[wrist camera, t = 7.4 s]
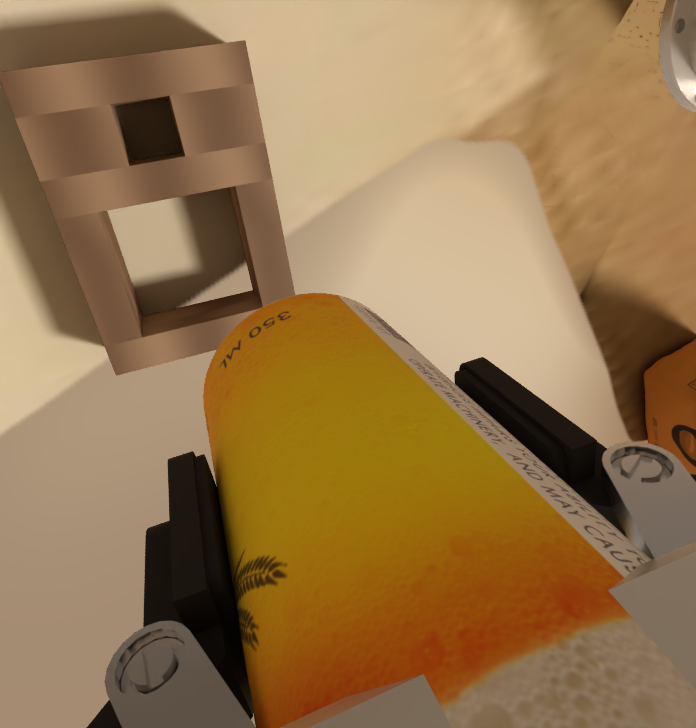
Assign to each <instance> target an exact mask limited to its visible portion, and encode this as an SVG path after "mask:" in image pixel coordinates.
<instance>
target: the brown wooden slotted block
mask: <svg viewBox="0 0 696 728" xmlns="http://www.w3.org/2000/svg"><path fill="white" fill-rule="evenodd" d="M0 82H1V84H2V87H3V90H4V92H5V95H6V97H7V100H8V102H9V105H10V107H11V110H12V112H13V115H14V117H15V120H16V123H17V125H18V128H19V130H20V133H21V135H22V138H23V140H24V143H25V145H26V148H27V151H28V153H29V156H30V158H31V161H32V163H33V166H34V168H35V171H36V173H37V176H38V178H39V181H40V184H41V186H42V189H43V191H44V194H45V196H46V199H47V201H48V204H49V206H50V209H51V211H52V214H53V217H54V219H55V222H56V224H57V227H58V229H59V232H60V234H61V237H62V239H63V242H64V244H65V247H66V250H67V252H68V255H69V257H70V260H71V262H72V265H73V267H74V270H75V272H76V275H77V277H78V280H79V283H80V285H81V288H82V290H83V293H84V295H85V298H86V300H87V303H88V305H89V308H90V311H91V313H92V316H93V318H94V321H95V323H96V326H97V328H98V331H99V333H100V336H101V338H102V341H103V344H104V346H105V349H106V351H107V354H108V356H109V359H110V361H111V364H112V366H113V369H114V371H115V374H116V375H120V374H124V373H128V372H132V371H136V370H139V369H143V368H147V367H151V366H155V365H159V364H163V363H167V362H170V361H174V360H178V359H182V358H186V357H190V356H193V355H197V354H201V353H205V352H209V351H213V350H217V349H218V348H219V346H220V344H221V343H222V341H223V340H224V339H225V338H226V336H227V335H228V334H229V333H230V332H231V330H232V329H234V328H235V327H236V326H237V325H238V324H239V323H240V322H241V321H242V320H243V319H245V318H246V317H247V316H249V315H250V314H251V313H253V312H255V311H256V310H258V309H260V308H261V307H263V306H265V305H268V304H270V303H272V302H274V301H277V300H280V299H283V298H286V297H290V296H295V292H294V287H293V282H292V277H291V272H290V267H289V262H288V256H287V252H286V246H285V241H284V236H283V231H282V226H281V221H280V215H279V210H278V205H277V200H276V195H275V190H274V185H273V180H272V175H271V169H270V164H269V159H268V154H267V149H266V144H265V139H264V134H263V129H262V123H261V118H260V113H259V108H258V103H257V98H256V93H255V88H254V83H253V78H252V72H251V67H250V62H249V57H248V52H247V47H246V42H245V41H237V42H229V43H221V44H214V45H206V46H198V47H190V48H182V49H175V50H167V51H159V52H151V53H144V54H136V55H128V56H120V57H112V58H105V59H97V60H89V61H81V62H74V63H66V64H58V65H50V66H42V67H35V68H27V69H19V70H11V71H4V72H0ZM165 98H168V101H169V104H170V108H171V112H172V116H173V119H174V123H175V127H176V131H177V134H178V138H179V142H180V146H181V150H182V152H181V153H175V154H169V155H163V156H157V157H152V158H146V159H140V160H134V161H132V159H131V156H130V153H129V150H128V146H127V143H126V140H125V137H124V133H123V130H122V127H121V124H120V120H119V117H118V114H117V111H116V108H115V106H118V105H125V104H132V103H138V102H145V101H152V100H159V99H165ZM227 187H229V189H230V194H231V198H232V202H233V206H234V211H235V215H236V219H237V224H238V228H239V232H240V236H241V241H242V245H243V249H244V253H245V258H246V262H247V266H248V270H249V275H250V279H251V283H252V287H253V290H252V291H248V292H244V293H240V294H236V295H231V296H227V297H223V298H219V299H215V300H210V301H207V302H202V303H198V304H193V305H189V306H185V307H181V308H177V309H172V310H168V311H164V312H160V313H156V314H151V315H147V316H143V314H142V311H141V308H140V305H139V302H138V299H137V296H136V294H135V291H134V288H133V285H132V282H131V279H130V276H129V273H128V270H127V268H126V265H125V262H124V259H123V256H122V253H121V250H120V247H119V244H118V241H117V239H116V236H115V233H114V230H113V227H112V224H111V221H110V218H109V215H108V212H107V210H112V209H117V208H123V207H128V206H133V205H138V204H144V203H149V202H154V201H159V200H165V199H170V198H175V197H180V196H186V195H191V194H196V193H201V192H206V191H212V190H217V189H222V188H227Z"/></svg>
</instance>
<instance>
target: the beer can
mask: <svg viewBox="0 0 696 728" xmlns="http://www.w3.org/2000/svg"><path fill="white" fill-rule="evenodd" d="M203 399H204V411H205V417H206V423H207V429H208V435H209V442H210V448H211V454H212V460H213V466H214V472H215V479H216V485H217V491H218V497H219V503H220V509H221V515H222V522H223V528H224V534H225V540H226V546H227V552H228V559H229V565H230V571H231V577H232V583H233V589H234V595H235V602H236V608H237V614H238V620H239V626H240V632H241V638H242V645H243V651H244V657H245V663H246V669H247V675H248V682H249V688H250V694H251V700H252V706H253V712H254V718H255V725H256V728H280V727H283V726H285V725H287V724H289V723H291V722H293V721H295V720H297V719H299V718H301V717H304V716H306V715H308V714H310V713H312V712H314V711H316V710H318V709H321V708H323V707H325V706H327V705H329V704H332V703H334V702H336V701H338V700H340V699H343V698H345V697H347V696H351V695H355V694H358V693H362V692H365V691H368V690H371V689H375V688H378V687H382V686H385V685H389V684H392V683H395V682H399V681H402V680H405V679H409V678H412V677H415V676H419V675H422V674H424V676H425V678H426V680H427V682H428V684H429V686H430V687H431V689H432V691H433V693H434V695H435V697H436V699H437V701H438V702H439V704H440V706H441V708H442V710H443V712H444V714H445V716H446V717H447V719H448V721H449V723H450V725H451V727H452V728H696V690H695V689H694V688H693V686H692V685H691V684H690V683H689V682H688V681H687V680H686V678H685V677H684V676H683V675H682V674H681V673H680V672H679V670H678V669H677V668H676V667H675V666H674V665H673V663H672V662H671V661H670V660H669V659H668V658H667V657H666V655H665V654H664V653H663V652H662V651H661V650H660V649H659V647H658V646H657V645H656V644H655V643H654V642H653V641H652V640H651V638H650V637H649V636H648V635H647V634H646V633H645V632H644V630H643V629H642V628H641V627H640V626H639V625H638V624H637V623H636V621H635V620H634V619H633V618H632V617H631V616H630V615H629V614H628V612H627V611H626V610H625V609H624V608H623V607H622V606H621V604H620V603H619V602H618V601H617V600H616V599H615V598H614V597H613V595H612V594H611V593H610V592H609V591H608V590H609V589H611V588H612V587H613V586H614V585H616V584H617V583H618V582H619V581H621V580H622V579H623V578H625V577H626V576H627V575H628V574H629V573H630V572H632V571H633V570H634V569H635V568H636V567H637V566H639V565H641V564H643V563H646V562H648V561H650V560H651V559H650V558H649V557H648V556H647V555H646V554H644V553H643V552H642V551H641V550H640V549H639V548H638V547H637V546H635V545H634V544H633V543H632V542H631V541H630V540H629V539H628V538H627V537H625V536H624V535H623V534H622V533H621V532H620V531H619V530H618V529H616V528H615V527H614V526H613V525H612V524H611V523H610V522H609V521H607V520H606V519H605V518H604V517H603V516H602V515H601V514H600V513H599V512H597V511H596V510H595V509H594V508H593V507H592V506H591V505H590V504H588V503H587V502H586V501H585V500H584V499H583V498H582V497H581V496H580V495H578V494H577V493H576V492H575V491H574V490H573V489H572V488H571V487H569V486H568V485H567V484H566V483H565V482H564V481H563V480H562V479H561V478H559V477H558V476H557V475H556V474H555V473H554V472H553V471H552V470H550V469H549V468H548V467H547V466H546V465H545V464H544V463H543V462H542V461H540V460H539V459H538V458H537V457H536V456H535V455H534V454H533V453H531V452H530V451H529V450H528V449H527V448H526V447H525V446H524V445H523V444H521V443H520V442H519V441H518V440H517V439H516V438H515V437H514V436H512V435H511V434H510V433H509V432H508V431H507V430H506V429H505V428H504V427H502V426H501V425H500V424H499V423H498V422H497V421H496V420H495V419H493V418H492V417H491V416H490V415H489V414H488V413H487V412H486V411H484V410H483V409H482V408H481V407H480V406H479V405H478V404H477V403H476V402H474V401H473V400H472V399H471V398H470V397H469V396H468V395H467V394H465V393H464V392H463V391H462V390H461V389H460V388H459V387H458V386H457V385H455V384H454V383H453V382H452V381H451V380H450V379H449V378H448V377H446V376H445V375H444V374H443V373H442V372H441V371H440V370H439V369H438V368H436V367H435V366H434V365H433V364H432V363H431V362H430V361H429V360H427V359H426V358H425V357H424V356H423V355H422V354H421V353H420V352H418V351H417V350H416V349H415V348H414V347H413V346H412V345H411V344H409V343H408V342H407V341H406V340H405V339H404V338H403V337H401V335H399V334H398V333H397V332H396V331H395V330H394V329H393V328H392V327H391V326H389V325H388V324H387V323H386V322H385V321H384V320H383V319H381V318H380V317H379V316H378V315H377V314H376V313H374V312H373V311H372V310H371V309H369V308H367V307H366V306H364V305H362V304H361V303H359V302H356V301H354V300H351V299H349V298H346V297H342V296H338V295H332V294H326V293H309V294H299V295H295V296H290V297H286V298H283V299H280V300H277V301H274V302H272V303H270V304H268V305H265V306H263V307H261V308H260V309H258V310H256V311H255V312H253V313H251V314H250V315H249V316H247V317H246V318H245V319H243V320H242V321H241V322H240V323H239V324H238V325H237V326H236V327H235V328H234V329H232V330H231V332H230V333H229V334H228V335H227V336H226V338H225V339H224V340H223V341H222V343H221V344H220V346H219V348H218V349H217V351H216V353H215V355H214V357H213V359H212V361H211V363H210V366H209V368H208V371H207V375H206V379H205V384H204V395H203Z"/></svg>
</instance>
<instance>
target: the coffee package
mask: <svg viewBox="0 0 696 728" xmlns="http://www.w3.org/2000/svg"><path fill="white" fill-rule="evenodd" d="M644 384H645V406H646V413H645V419H646V428H647V433H648V443H649V444H653V445H656V446H658V447H661V448H664V449H665V450H667V451H669V452H670V453H672V454H673V455H674V456H675V457H676V458H677V459H679V460H680V462H681V463H682V464H683V466H684V467H685V468H686V470H687V471H688V472H689V474H695V475H696V339H694V340H693V341H692V342H690V343H689V344H687V345H685V346H684V347H682V348H681V349H680V350H677V351H676V352H674V353H672V354H670V355H668V356H665V357H663V358H661V359H659V360H658V361H657V362H655V364H654V365H652V366H651V367H650V368H649V369H647V370H646V371H645V373H644Z"/></svg>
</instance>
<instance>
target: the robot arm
mask: <svg viewBox="0 0 696 728" xmlns="http://www.w3.org/2000/svg"><path fill="white" fill-rule="evenodd" d="M659 55H660V63H661V70H662V74H663V77H664V80H665V83H666V86H667V88H668V89H669V91H670V93H671V95H672V97H673V98H674V99H675V100H676V101H677V102H678V103H679V104H680V105H681V106H683V107H684V108H686V109H688V110H690V111H692V112H696V0H666V3H665V7H664V11H663V14H662V21H661V27H660V35H659ZM455 385H457V386H458V387H459V388H460V389H461V390H462V391H463V392H464V393H465V394H467V395H468V396H469V397H470V398H471V399H472V400H473V401H474V402H476V403H477V404H478V405H479V406H480V407H481V408H482V409H483V410H484V411H486V412H487V413H488V414H489V415H490V416H491V417H492V418H493V419H495V420H496V421H497V422H498V423H499V424H500V425H501V426H502V427H504V428H505V429H506V430H507V431H508V432H509V433H510V434H511V435H512V436H514V437H515V438H516V439H517V440H518V441H519V442H520V443H521V444H523V445H524V446H525V447H526V448H527V449H528V450H529V451H530V452H531V453H533V454H534V455H535V456H536V457H537V458H538V459H539V460H540V461H542V462H543V463H544V464H545V465H546V466H547V467H548V468H549V469H550V470H552V471H553V472H554V473H555V474H556V475H557V476H558V477H559V478H561V479H562V480H563V481H564V482H565V483H566V484H567V485H568V486H569V487H571V488H572V489H573V490H574V491H575V492H576V493H577V494H578V495H580V496H581V497H582V498H583V499H584V500H585V501H586V502H587V503H588V504H590V505H591V506H592V507H593V508H594V509H595V510H596V511H597V512H599V513H600V514H601V515H602V516H603V517H604V518H605V519H606V520H607V521H609V522H610V523H611V524H612V525H613V526H614V527H615V528H616V529H618V530H619V531H620V532H621V533H622V534H623V535H624V536H625V537H627V538H628V539H629V540H630V541H631V542H632V543H633V544H634V545H635V546H637V547H638V548H639V549H640V550H641V551H642V552H643V553H644V554H646V555H647V556H648V557H649V558H650V559H651V560H650V561H648V562H646V563H643V564H641V565H639V566H637V567H636V568H635V569H634V570H633V571H632V572H630V573H629V574H628V575H627V576H626V577H625V578H623V579H622V580H621V581H619V582H618V583H617V584H616V585H614V586H613V587H612V588H611V589H609V590H608V591H609V592H610V593H611V594H612V595H613V597H614V598H615V599H616V600H617V601H618V602H619V603H620V604H621V606H622V607H623V608H624V609H625V610H626V611H627V612H628V614H629V615H630V616H631V617H632V618H633V619H634V620H635V621H636V623H637V624H638V625H639V626H640V627H641V628H642V629H643V630H644V632H645V633H646V634H647V635H648V636H649V637H650V638H651V640H652V641H653V642H654V643H655V644H656V645H657V646H658V647H659V649H660V650H661V651H662V652H663V653H664V654H665V655H666V657H667V658H668V659H669V660H670V661H671V662H672V663H673V665H674V666H675V667H676V668H677V669H678V670H679V672H680V673H681V674H682V675H683V676H684V677H685V678H686V680H687V681H688V682H689V683H690V684H691V685H692V686H693V688H694V689H695V690H696V475H695V474H689V472H688V471H687V470H686V468H685V467H684V466H683V464H682V463H681V462H680V460H679V459H677V458H676V457H675V456H674V455H673V454H672V453H670V452H669V451H667V450H665V449H664V448H661V447H658V446H656V445H653V444H649V443H643V442H623V443H618V444H615V445H613V446H611V447H609V448H608V449H607V448H605V447H604V446H603V445H601V444H600V443H598V442H597V440H596V439H594V438H593V437H591V436H590V435H589V434H587V433H586V432H585V431H583V430H582V429H580V428H579V427H578V426H576V425H575V424H573V423H572V422H571V421H570V420H568V419H567V418H566V417H564V416H563V415H562V414H560V413H559V412H557V411H556V410H555V409H553V408H552V407H550V406H549V405H548V404H547V403H545V402H544V401H543V400H541V399H540V398H539V397H537V396H536V395H534V394H533V393H532V392H530V391H529V390H527V389H526V388H525V387H524V386H522V385H521V384H519V383H518V382H517V381H515V380H514V379H513V378H511V377H510V376H509V375H507V374H506V373H504V372H503V371H502V370H500V369H499V368H498V367H496V366H495V365H494V364H492V363H491V362H490V361H488V360H487V359H485V358H483V357H482V358H478V359H475V360H472V361H469V362H466V363H462V364H461V365H460V368H459V371H456V372H455ZM168 484H169V515H170V521H167V522H164V523H161V524H159V525H156V526H153V527H150V528H148V529H147V531H146V549H145V551H146V552H145V588H144V628H142V629H140V630H138V631H137V632H135V633H134V634H133V635H131V636H130V637H129V638H128V639H127V640H126V641H125V642H123V644H122V645H121V646H120V647H119V649H118V650H117V651H116V653H115V654H114V655H113V657H112V659H111V661H110V663H109V665H108V668H107V671H106V677H105V686H106V691H107V695H108V697H109V699H110V700H109V701H108V702H107V703H106V705H105V706H104V707H103V708H102V709H101V711H100V712H99V713H98V715H97V716H96V717H95V718H94V720H93V721H92V722H91V723H90V724H89V726H88V727H87V728H256V727H255V725H254V724H253V723H252V721H251V718H252V717H253V713H254V712H253V706H252V700H251V694H250V688H249V682H248V675H247V669H246V663H245V657H244V651H243V645H242V638H241V632H240V626H239V620H238V614H237V608H236V602H235V595H234V589H233V583H232V577H231V571H230V565H229V559H228V552H227V546H226V540H225V534H224V528H223V522H222V515H221V509H220V503H219V497H218V491H217V487H216V484H215V481H214V479H213V476H212V473H211V471H210V468H209V465H208V462H207V460H206V457H205V455H204V454H203V455H200V456H197V457H196V456H195V454H194V452H193V451H192V452H189V453H186V454H183V455H180V456H176V457H173V458H170V459H168ZM280 728H452V727H451V725H450V723H449V721H448V719H447V717H446V716H445V714H444V712H443V710H442V708H441V706H440V704H439V702H438V701H437V699H436V697H435V695H434V693H433V691H432V689H431V687H430V686H429V684H428V682H427V680H426V678H425V676H424V674H422V675H419V676H415V677H412V678H409V679H405V680H402V681H399V682H395V683H392V684H389V685H385V686H382V687H378V688H375V689H371V690H368V691H365V692H362V693H358V694H355V695H351V696H347V697H345V698H343V699H340V700H338V701H336V702H334V703H332V704H329V705H327V706H325V707H323V708H321V709H318V710H316V711H314V712H312V713H310V714H308V715H306V716H304V717H301V718H299V719H297V720H295V721H293V722H291V723H289V724H287V725H285V726H283V727H280Z"/></svg>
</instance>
